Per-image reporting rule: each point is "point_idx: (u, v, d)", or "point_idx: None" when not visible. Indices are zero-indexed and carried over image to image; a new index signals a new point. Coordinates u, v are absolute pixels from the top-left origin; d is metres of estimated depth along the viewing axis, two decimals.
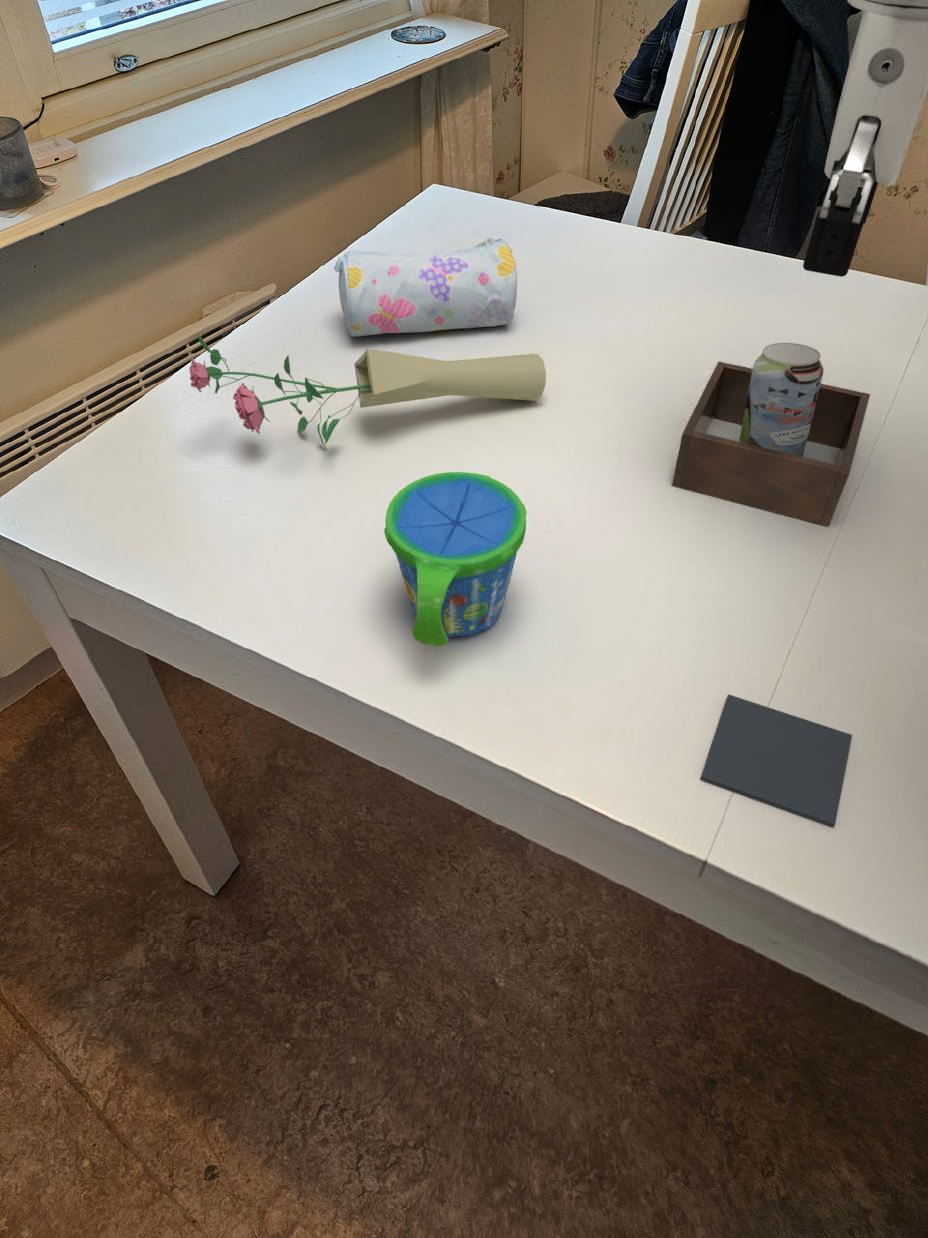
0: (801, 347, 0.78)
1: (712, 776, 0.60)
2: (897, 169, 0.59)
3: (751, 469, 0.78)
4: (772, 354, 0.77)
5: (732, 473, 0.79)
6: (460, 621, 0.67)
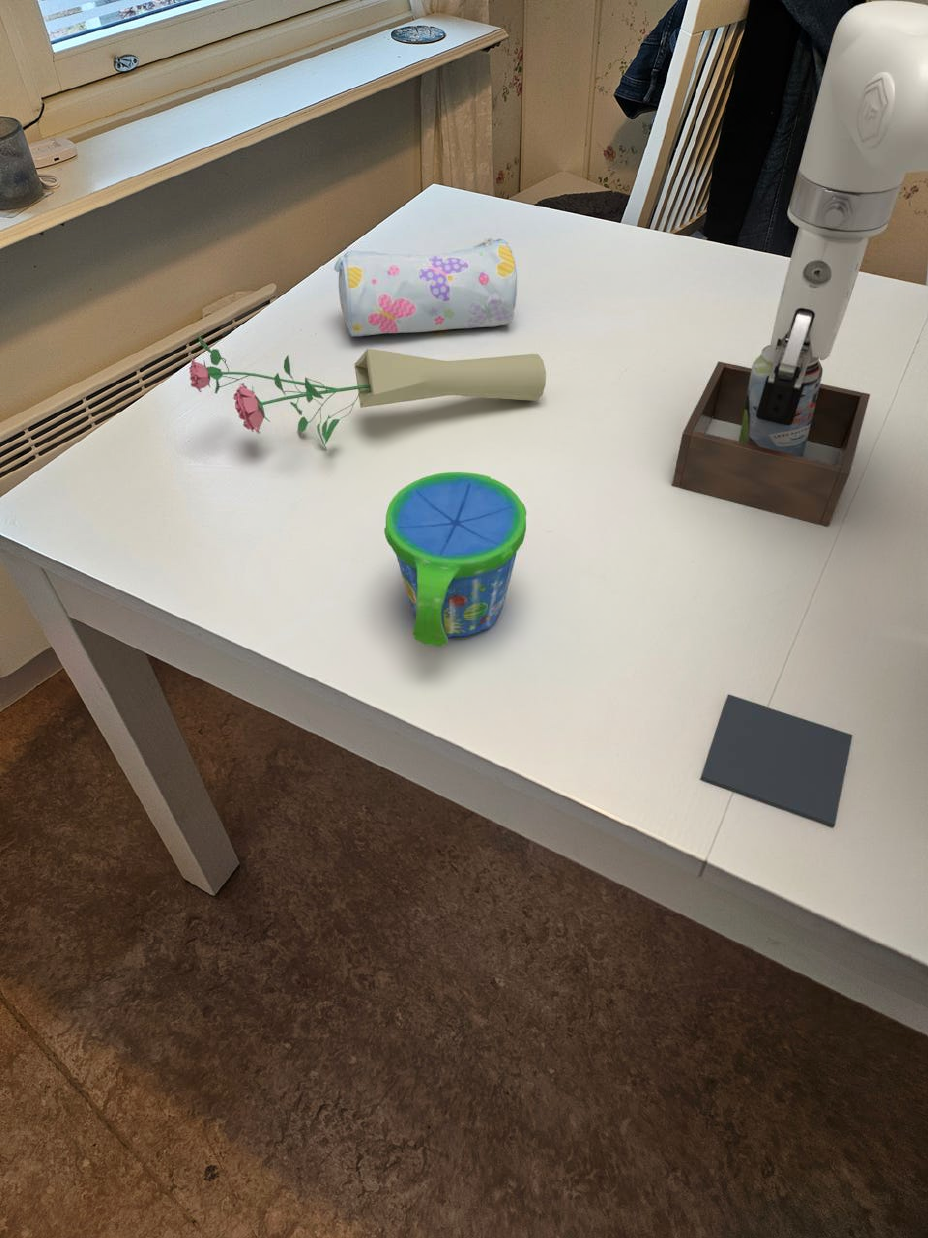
0: None
1: (712, 776, 0.60)
2: (829, 348, 0.70)
3: (751, 469, 0.78)
4: (771, 356, 0.77)
5: (732, 473, 0.79)
6: (460, 621, 0.67)
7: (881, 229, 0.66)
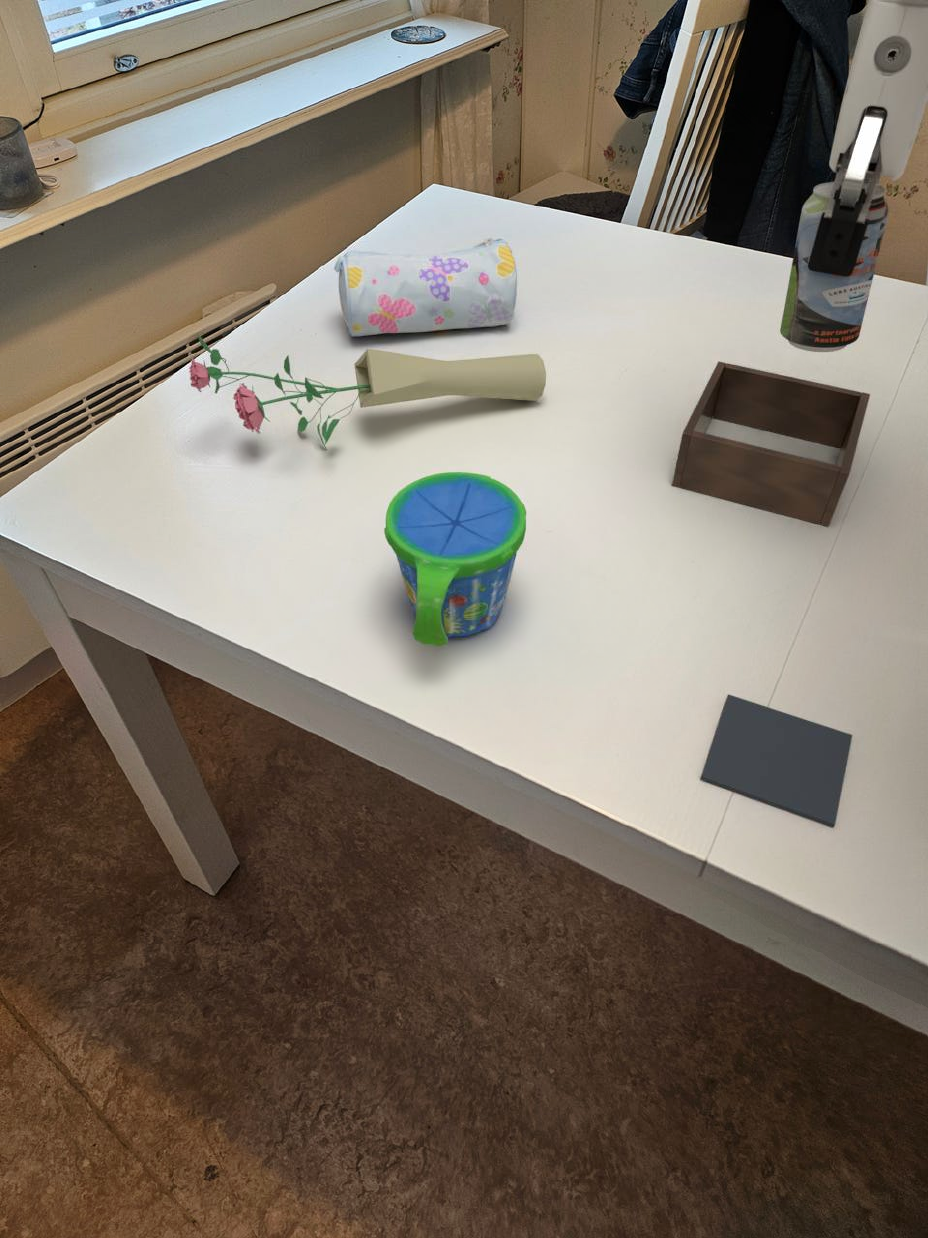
0: None
1: (712, 776, 0.60)
2: (904, 161, 0.57)
3: (751, 469, 0.78)
4: (826, 192, 0.64)
5: (732, 473, 0.79)
6: (460, 621, 0.67)
7: None
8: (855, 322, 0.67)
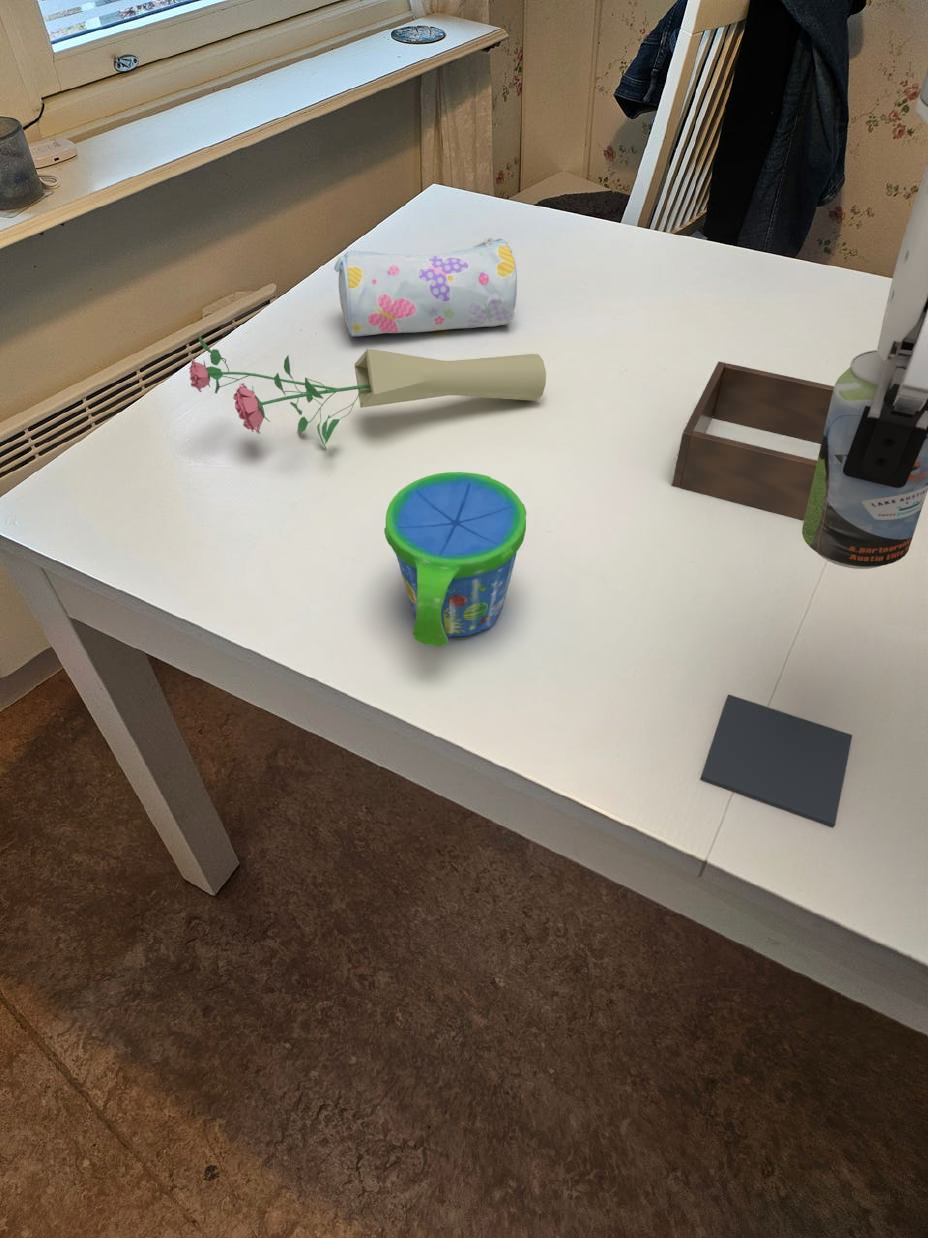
0: None
1: (712, 776, 0.60)
2: None
3: (751, 469, 0.78)
4: (868, 371, 0.46)
5: (732, 473, 0.79)
6: (460, 621, 0.67)
7: None
8: (906, 536, 0.49)
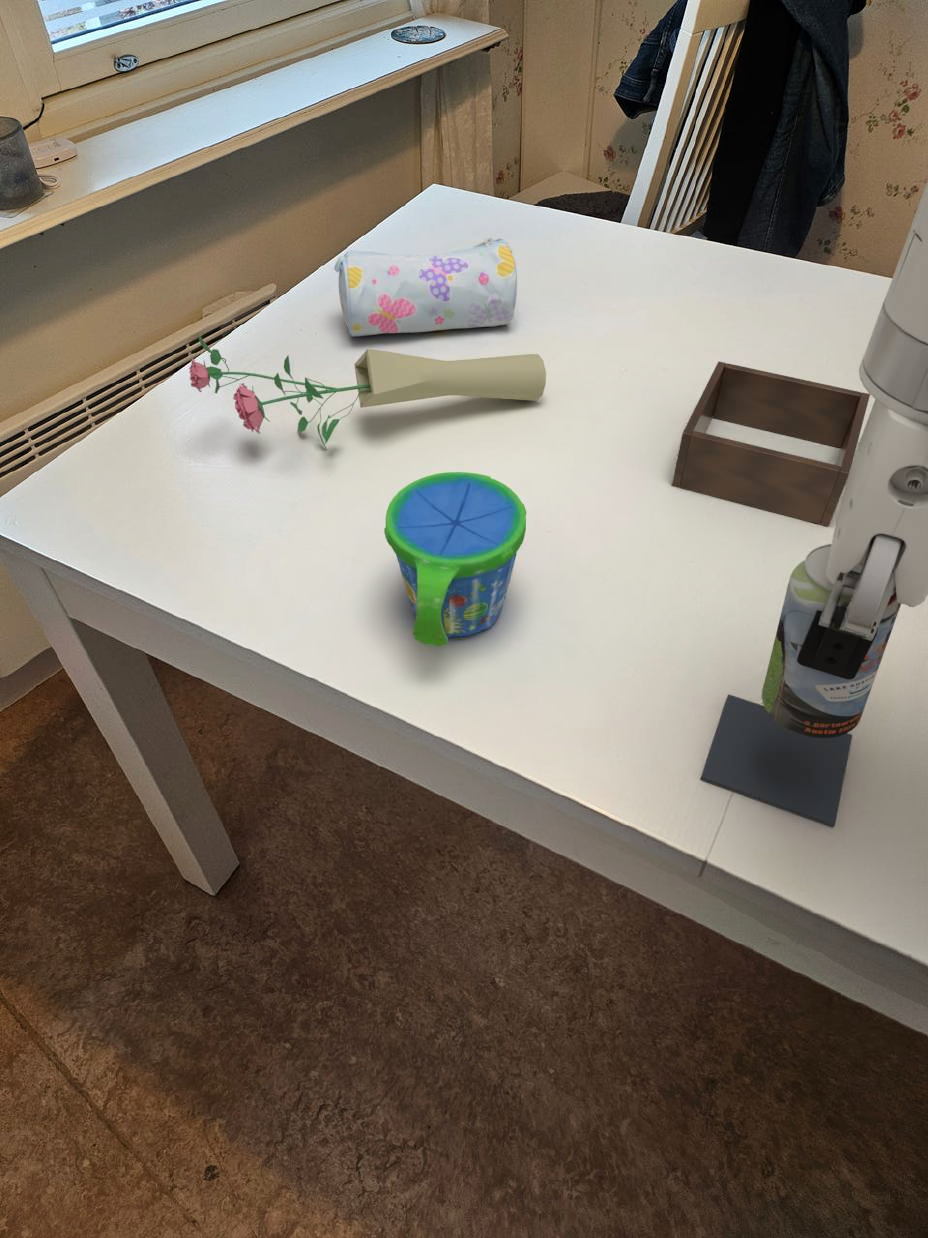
0: None
1: (712, 776, 0.60)
2: (927, 593, 0.42)
3: (751, 469, 0.78)
4: (820, 572, 0.49)
5: (732, 473, 0.79)
6: (460, 621, 0.67)
7: None
8: (857, 712, 0.52)
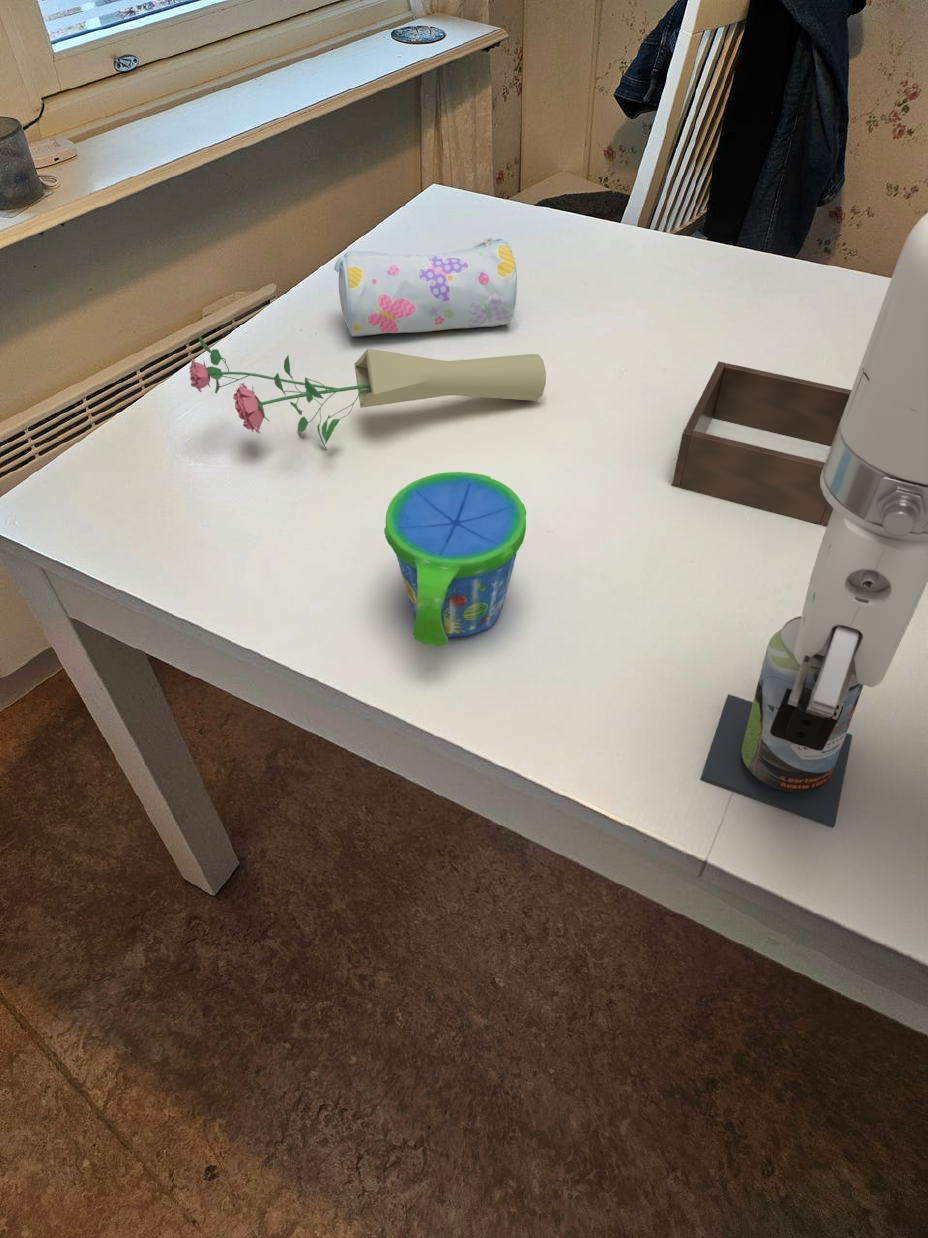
0: None
1: (712, 776, 0.60)
2: (883, 675, 0.47)
3: (751, 469, 0.78)
4: (795, 642, 0.53)
5: (732, 473, 0.79)
6: (460, 621, 0.67)
7: None
8: (828, 769, 0.57)
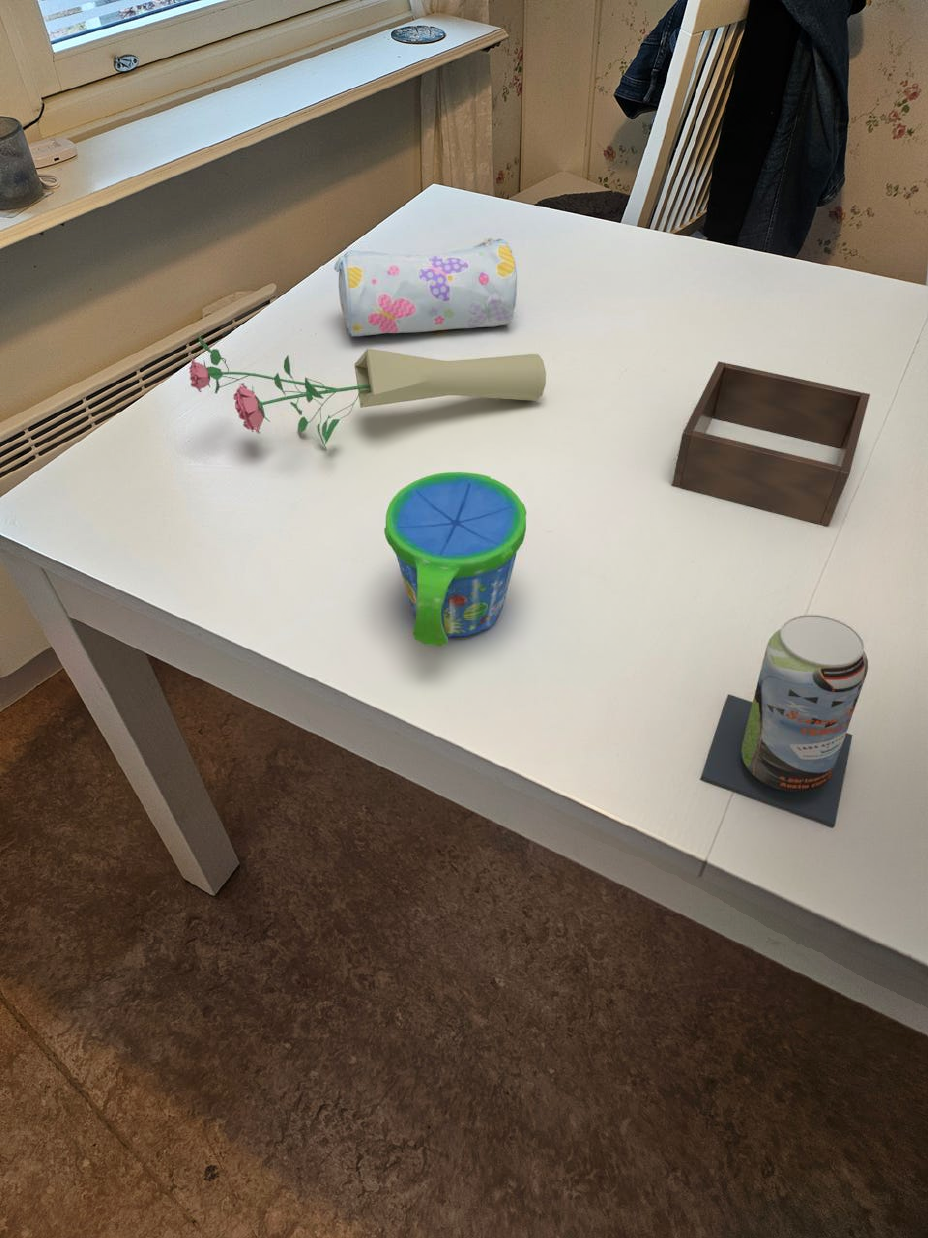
0: (836, 625, 0.54)
1: (712, 776, 0.60)
2: None
3: (751, 469, 0.78)
4: (794, 642, 0.53)
5: (732, 473, 0.79)
6: (460, 621, 0.67)
7: None
8: (828, 769, 0.57)
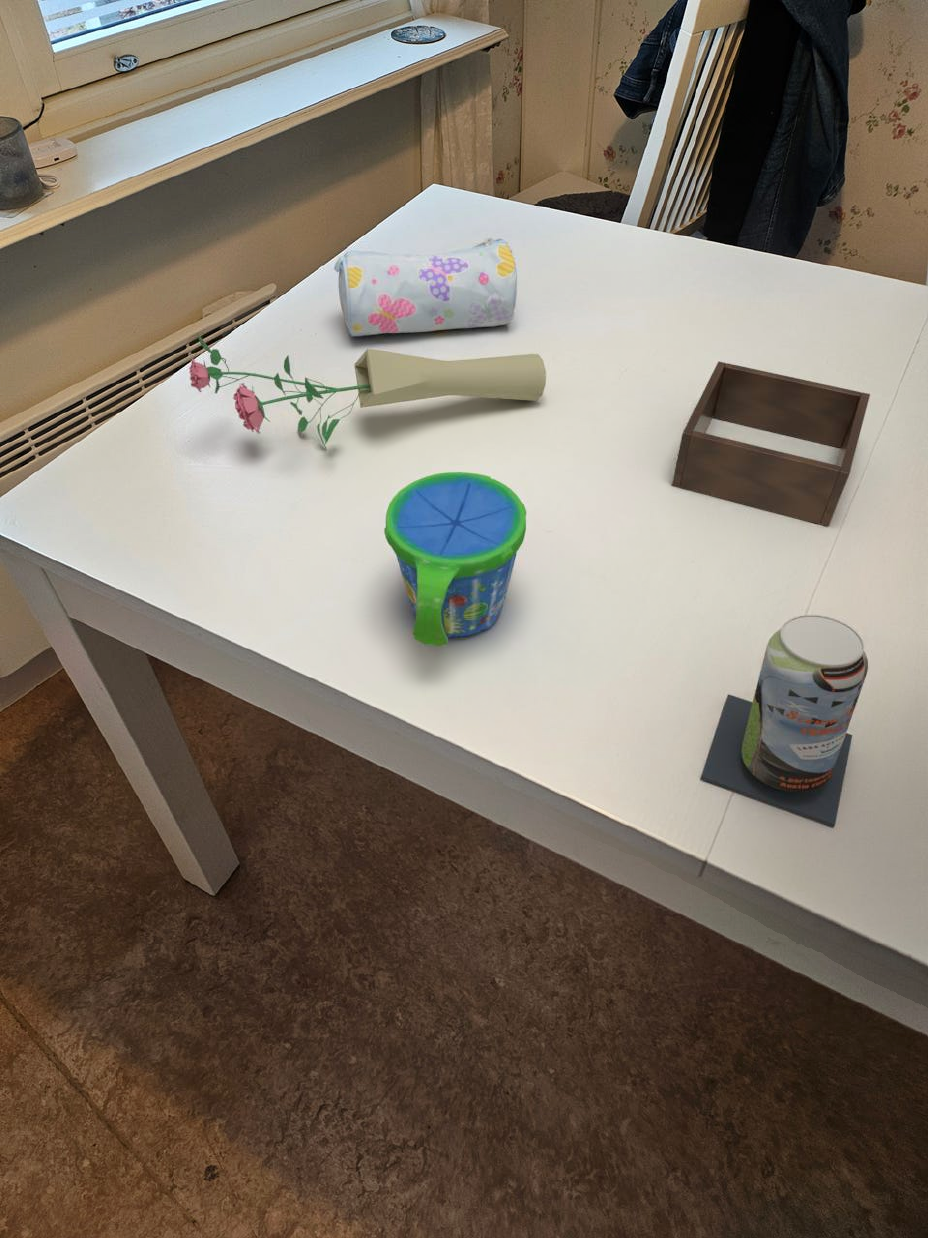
0: (836, 625, 0.54)
1: (712, 776, 0.60)
2: None
3: (751, 469, 0.78)
4: (794, 642, 0.53)
5: (732, 473, 0.79)
6: (460, 621, 0.67)
7: None
8: (828, 769, 0.57)
